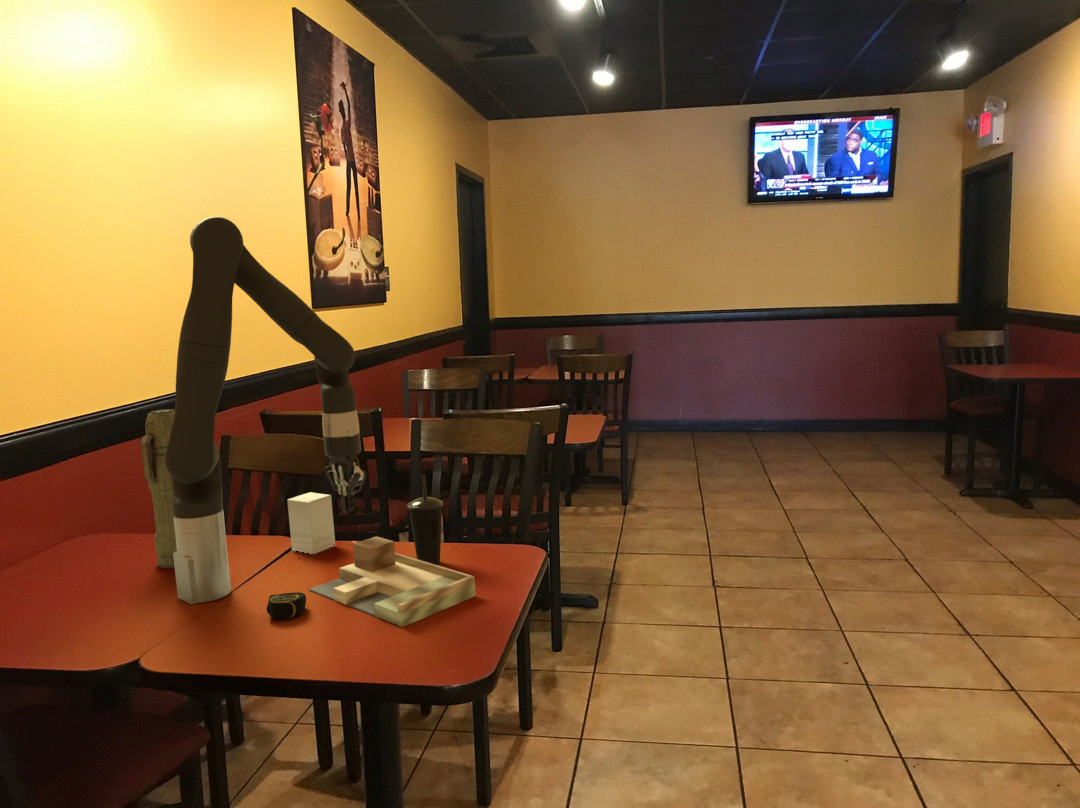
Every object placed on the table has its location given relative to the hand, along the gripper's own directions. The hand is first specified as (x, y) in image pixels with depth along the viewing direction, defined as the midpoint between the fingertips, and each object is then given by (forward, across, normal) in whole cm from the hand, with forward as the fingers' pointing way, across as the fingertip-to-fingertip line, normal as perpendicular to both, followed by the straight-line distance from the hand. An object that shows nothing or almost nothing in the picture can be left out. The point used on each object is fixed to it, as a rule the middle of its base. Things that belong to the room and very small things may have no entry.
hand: (348, 511), depth 174 cm
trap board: (+13, +18, -4) cm, 23 cm away
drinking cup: (+13, +11, +12) cm, 21 cm away
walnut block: (+10, +8, 0) cm, 13 cm away
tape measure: (+13, +10, -23) cm, 28 cm away
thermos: (+12, -38, -21) cm, 45 cm away
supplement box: (+13, -20, +3) cm, 24 cm away
